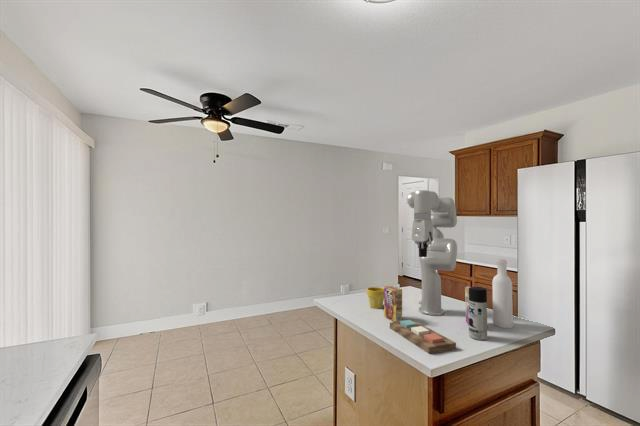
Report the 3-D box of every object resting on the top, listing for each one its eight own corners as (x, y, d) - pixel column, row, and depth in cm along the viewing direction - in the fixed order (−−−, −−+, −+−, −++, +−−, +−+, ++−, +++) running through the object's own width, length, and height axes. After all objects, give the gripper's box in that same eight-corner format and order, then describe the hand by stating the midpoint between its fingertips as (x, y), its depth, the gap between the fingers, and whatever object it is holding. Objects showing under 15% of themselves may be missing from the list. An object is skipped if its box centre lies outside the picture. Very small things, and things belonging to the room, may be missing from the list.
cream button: (411, 334, 120) (411, 327, 120) (421, 333, 121) (421, 326, 122) (418, 339, 115) (418, 331, 115) (429, 337, 117) (429, 330, 117)
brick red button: (423, 342, 112) (423, 334, 112) (434, 340, 114) (434, 333, 114) (432, 348, 108) (432, 339, 108) (443, 346, 109) (443, 338, 109)
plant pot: (388, 305, 162) (388, 288, 162) (381, 310, 153) (381, 292, 153) (371, 303, 167) (371, 286, 168) (363, 307, 159) (363, 289, 159)
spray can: (465, 334, 122) (464, 286, 122) (480, 333, 122) (480, 286, 123) (475, 340, 115) (474, 290, 116) (491, 340, 116) (490, 290, 116)
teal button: (399, 327, 127) (399, 321, 128) (409, 326, 129) (409, 319, 129) (406, 332, 123) (406, 325, 123) (416, 330, 124) (416, 323, 124)
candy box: (402, 321, 138) (402, 288, 138) (395, 322, 136) (395, 289, 136) (390, 315, 146) (390, 285, 146) (383, 316, 144) (383, 285, 144)
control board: (389, 328, 129) (389, 322, 129) (412, 325, 132) (412, 319, 133) (429, 353, 104) (429, 347, 104) (456, 349, 108) (455, 342, 108)
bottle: (513, 329, 127) (512, 261, 128) (492, 326, 131) (491, 259, 132) (512, 324, 134) (511, 259, 134) (492, 320, 138) (491, 257, 139)
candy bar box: (464, 320, 138) (464, 286, 139) (476, 321, 137) (476, 286, 137) (469, 329, 128) (469, 291, 128) (482, 330, 126) (481, 292, 126)
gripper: (406, 217, 140) (406, 255, 140) (426, 217, 126) (426, 259, 126) (419, 217, 142) (419, 254, 142) (440, 217, 128) (441, 258, 128)
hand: (422, 256), depth 134 cm, fingers closed
